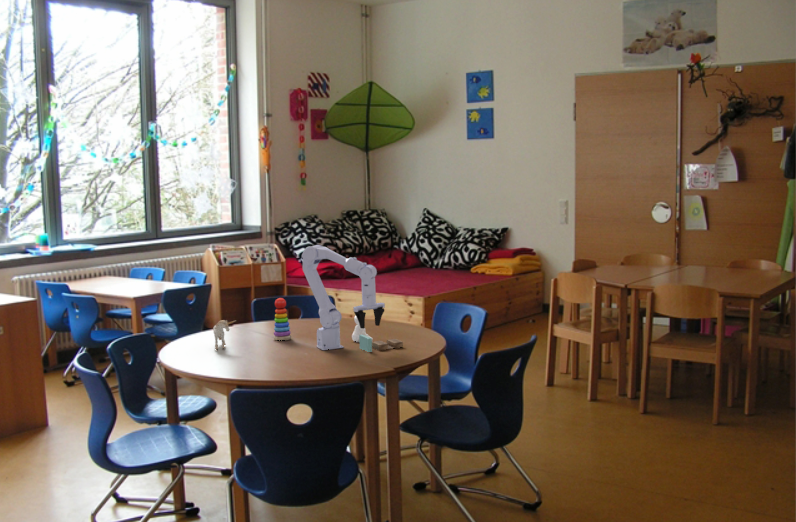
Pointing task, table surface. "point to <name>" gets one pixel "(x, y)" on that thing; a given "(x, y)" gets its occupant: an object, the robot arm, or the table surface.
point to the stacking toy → (281, 321)
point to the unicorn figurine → (220, 331)
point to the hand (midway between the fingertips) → (370, 326)
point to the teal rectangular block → (365, 343)
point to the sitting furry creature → (358, 331)
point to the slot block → (387, 344)
